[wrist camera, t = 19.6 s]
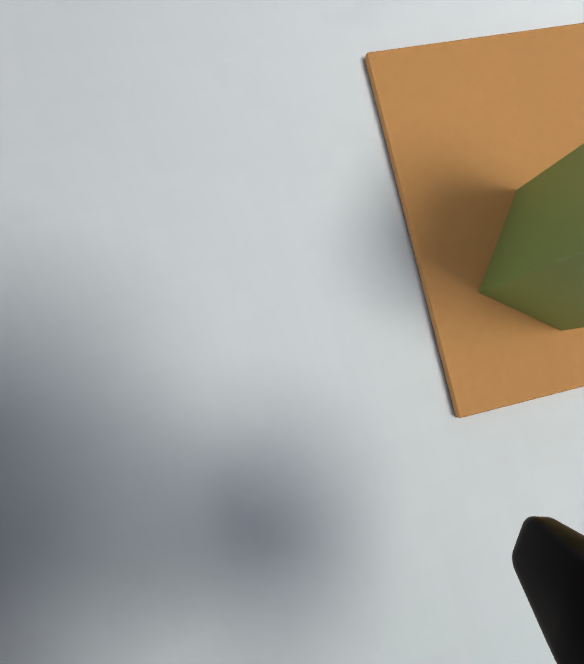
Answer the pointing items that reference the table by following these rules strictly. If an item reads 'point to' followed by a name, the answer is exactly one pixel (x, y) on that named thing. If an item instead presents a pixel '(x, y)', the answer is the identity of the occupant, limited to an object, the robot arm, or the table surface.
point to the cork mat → (481, 193)
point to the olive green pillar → (544, 247)
